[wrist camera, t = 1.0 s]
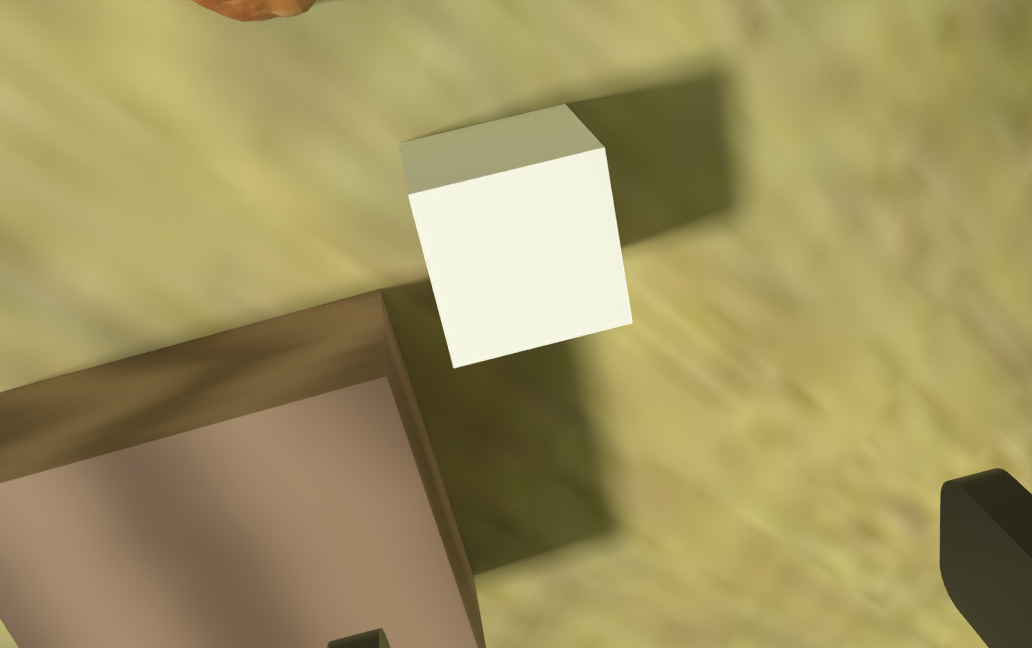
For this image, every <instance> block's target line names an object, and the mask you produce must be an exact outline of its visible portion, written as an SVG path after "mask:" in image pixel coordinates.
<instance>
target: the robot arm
mask: <svg viewBox="0 0 1032 648" xmlns="http://www.w3.org/2000/svg"><path fill="white" fill-rule="evenodd" d="M940 570H941V575H942V579H943V582H944V585H945V587H946V590H947V592H948V594H949V596H950V598H951V600H952V602H953V603H954V605H955V606H956V608H957V609H958V610H959V612H960V613H961V614H962V615H963V617H964V618H965V619H966V620H967V621H968V623H969V624H970V625H971V626H972V628H973V629H974V630H975V631H976V632H977V634H978V635H979V636H980V637H981V639H982V640H983V641H984V642H985V643H986V645H987V646H988V647H989V648H1032V494H1031V493H1030V492H1029V491H1028V490H1027V489H1025V488H1024V487H1023V486H1022V485H1021V484H1020V483H1019V482H1018V481H1017V480H1016V479H1015V478H1013V477H1012V476H1011V475H1010V474H1009V473H1008V472H1006V471H1005V470H1003V469H1000V468H995V469H991V470H987V471H984V472H980V473H976V474H972V475H968V476H965V477H961V478H957V479H953V480H949V481H946V482H945V483H944V484H943V486H942V489H941V502H940ZM327 648H390V645H389V642H388V639H387V637H386V634H385V632H384V630H383V629H382V628H378V629H375V630H371V631H367V632H363V633H359V634H356V635H352V636H348V637H344V638H340V639H336V640H333V641H330V642H329V643H328V646H327Z"/></svg>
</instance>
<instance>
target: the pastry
mask: <svg viewBox="0 0 1032 648" xmlns="http://www.w3.org/2000/svg"><path fill="white" fill-rule="evenodd" d="M192 1H194V2H196V3H198V4H199V5H201V6H203V7H205V8H207V9H210V10H212V11H215V12H217V13H220V14H222V15H224V16H227V17H230V18H231V19H237V20H240V21H264V20H268V19H272V18H275V17H291V16H296V15H299V14H301V13H304V12H307V11H308V10H309V9H310V7H311V6H312V5H313V4H314V3H315V2H316V0H192Z"/></svg>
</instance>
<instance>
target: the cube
mask: <svg viewBox="0 0 1032 648" xmlns="http://www.w3.org/2000/svg"><path fill="white" fill-rule="evenodd" d="M399 146H400V152H401V158H402V163H403V169H404V174H405V180H406V186H407V191H408V196H409V200H410V204H411V208H412V212H413V215H414V219H415V223H416V227H417V231H418V234H419V238H420V242H421V246H422V250H423V253H424V257H425V261H426V265H427V269H428V272H429V276H430V280H431V284H432V288H433V292H434V295H435V299H436V303H437V307H438V311H439V314H440V318H441V322H442V326H443V330H444V333H445V337H446V341H447V345H448V349H449V352H450V356H451V360H452V364H453V368H457V367H461V366H465V365H469V364H473V363H477V362H481V361H485V360H489V359H493V358H496V357H500V356H504V355H508V354H512V353H516V352H520V351H524V350H528V349H532V348H536V347H540V346H544V345H548V344H552V343H556V342H560V341H564V340H568V339H572V338H576V337H580V336H584V335H588V334H592V333H596V332H600V331H604V330H608V329H611V328H615V327H619V326H623V325H627V324H631V323H633V322H632V316H631V310H630V303H629V297H628V291H627V284H626V278H625V272H624V266H623V259H622V253H621V247H620V240H619V234H618V228H617V221H616V215H615V209H614V203H613V196H612V190H611V184H610V177H609V171H608V165H607V159H606V152H605V147H604V146H603V145H602V144H601V143H600V142H599V140H598V139H597V138H596V137H595V136H594V135H593V134H592V133H591V132H590V131H589V130H588V128H587V127H586V126H585V125H584V124H583V123H582V122H581V121H580V120H579V119H578V118H577V116H576V115H575V114H574V113H573V112H572V111H571V110H570V109H569V108H568V107H567V106H566V104H562V105H558V106H553V107H549V108H545V109H541V110H537V111H532V112H528V113H524V114H520V115H516V116H511V117H507V118H503V119H499V120H495V121H490V122H486V123H482V124H478V125H474V126H469V127H465V128H461V129H457V130H453V131H448V132H444V133H440V134H436V135H432V136H427V137H423V138H419V139H415V140H411V141H406V142H402V143H399Z"/></svg>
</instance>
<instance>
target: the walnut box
mask: <svg viewBox="0 0 1032 648" xmlns="http://www.w3.org/2000/svg"><path fill="white" fill-rule="evenodd" d="M0 619H1V620H2V622H3V624H4V625H5V627H6V628H7V630H8V631H9V633H10V634H11V636H12V637H13V639H14V641H15V642H16V644H17V645H18V647H19V648H327V646H328V643H329V642H330V641H333V640H336V639H340V638H344V637H348V636H352V635H356V634H359V633H363V632H367V631H371V630H375V629H378V628H382V629H383V630H384V632H385V634H386V637H387V639H388V642H389V645H390V648H486V646H485V640H484V634H483V628H482V622H481V616H480V611H479V605H478V599H477V593H476V587H475V581H474V576H473V573H472V569H471V566H470V563H469V560H468V557H467V554H466V551H465V548H464V545H463V542H462V539H461V535H460V532H459V529H458V526H457V523H456V520H455V517H454V514H453V511H452V508H451V505H450V502H449V498H448V495H447V492H446V489H445V486H444V483H443V480H442V477H441V474H440V471H439V468H438V465H437V461H436V458H435V455H434V452H433V449H432V446H431V443H430V440H429V437H428V434H427V431H426V427H425V424H424V421H423V418H422V415H421V412H420V409H419V406H418V403H417V400H416V397H415V394H414V390H413V387H412V384H411V381H410V378H409V375H408V372H407V369H406V366H405V363H404V360H403V356H402V353H401V350H400V347H399V344H398V341H397V338H396V335H395V332H394V329H393V326H392V323H391V319H390V316H389V313H388V310H387V307H386V304H385V301H384V298H383V295H382V292H381V289H378V290H374V291H371V292H367V293H363V294H360V295H356V296H352V297H349V298H345V299H341V300H338V301H334V302H330V303H327V304H323V305H319V306H316V307H312V308H308V309H305V310H301V311H297V312H294V313H290V314H286V315H283V316H279V317H275V318H272V319H268V320H264V321H261V322H257V323H253V324H250V325H246V326H242V327H239V328H235V329H231V330H228V331H224V332H220V333H217V334H213V335H209V336H206V337H202V338H198V339H195V340H191V341H187V342H184V343H180V344H176V345H173V346H169V347H165V348H162V349H158V350H154V351H151V352H147V353H144V354H140V355H136V356H133V357H129V358H125V359H122V360H118V361H114V362H111V363H107V364H103V365H100V366H96V367H92V368H89V369H85V370H81V371H78V372H74V373H70V374H67V375H63V376H59V377H56V378H52V379H48V380H45V381H41V382H37V383H34V384H30V385H26V386H23V387H19V388H15V389H12V390H8V391H4V392H1V393H0Z"/></svg>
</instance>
